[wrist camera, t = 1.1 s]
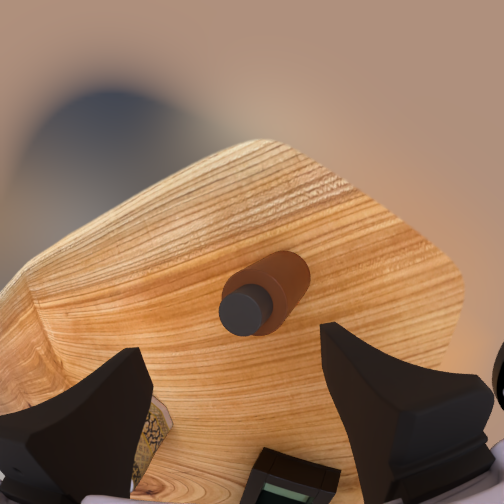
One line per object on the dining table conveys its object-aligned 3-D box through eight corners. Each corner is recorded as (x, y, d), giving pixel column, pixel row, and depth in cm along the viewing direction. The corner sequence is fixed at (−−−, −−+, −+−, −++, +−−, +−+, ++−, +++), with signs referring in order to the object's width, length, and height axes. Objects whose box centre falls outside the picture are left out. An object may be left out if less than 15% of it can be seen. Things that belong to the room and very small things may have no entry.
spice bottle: (318, 262, 24) (288, 297, 15) (299, 309, 25) (261, 362, 16) (269, 242, 25) (216, 265, 16) (253, 289, 26) (197, 329, 17)
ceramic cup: (168, 379, 31) (105, 429, 21) (196, 450, 31) (148, 504, 22) (93, 371, 35) (36, 404, 26) (120, 433, 36) (72, 471, 27)
